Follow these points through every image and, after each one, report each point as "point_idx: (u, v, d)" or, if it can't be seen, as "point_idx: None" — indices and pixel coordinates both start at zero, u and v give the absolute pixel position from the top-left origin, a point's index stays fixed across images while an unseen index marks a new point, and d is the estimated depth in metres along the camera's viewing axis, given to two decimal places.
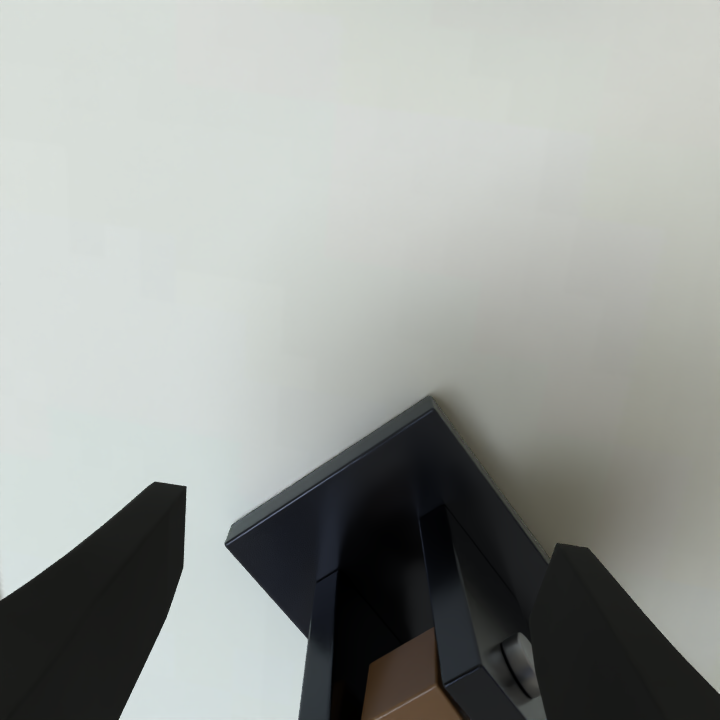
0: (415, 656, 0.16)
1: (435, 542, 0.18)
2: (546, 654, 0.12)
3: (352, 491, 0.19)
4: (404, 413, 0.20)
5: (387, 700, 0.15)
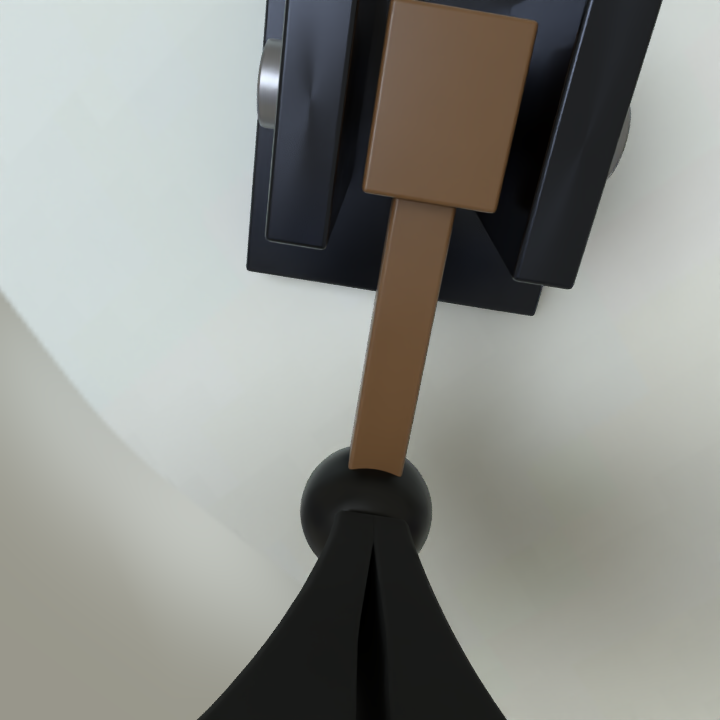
0: None
1: None
2: None
3: None
4: None
5: (442, 9, 0.09)
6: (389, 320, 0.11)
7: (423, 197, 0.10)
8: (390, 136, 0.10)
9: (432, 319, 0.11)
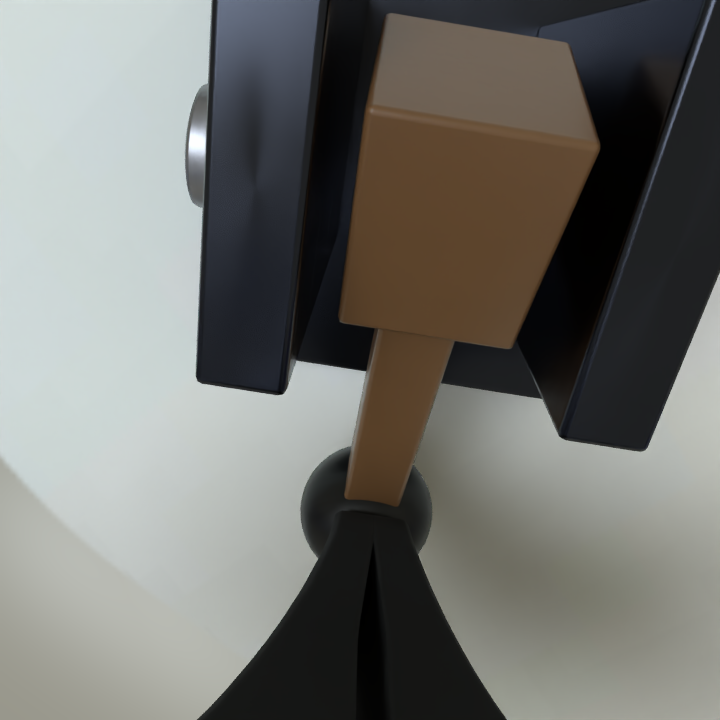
0: (524, 65, 0.07)
1: None
2: None
3: None
4: None
5: (451, 100, 0.06)
6: (382, 401, 0.10)
7: (417, 334, 0.08)
8: (371, 273, 0.07)
9: (433, 402, 0.10)
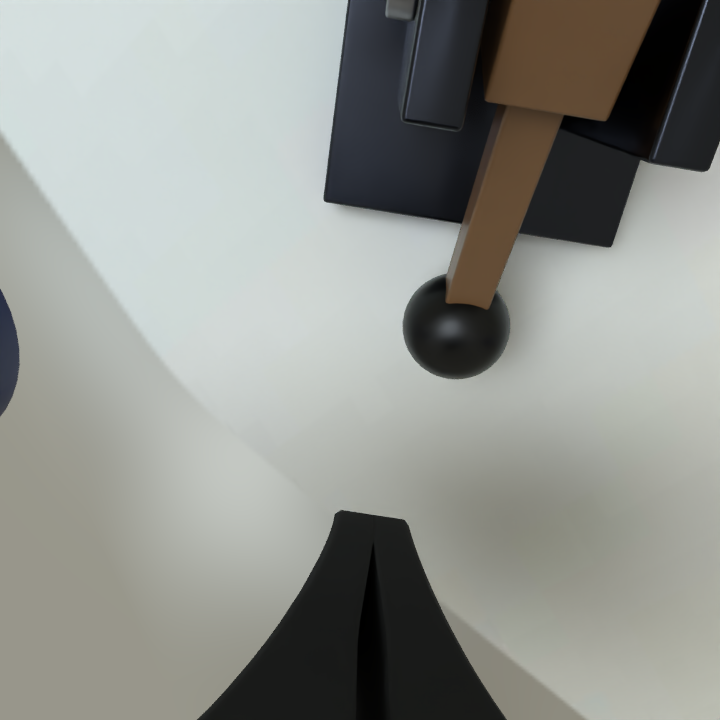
0: None
1: None
2: None
3: None
4: None
5: None
6: (493, 195, 0.13)
7: (541, 108, 0.11)
8: (517, 53, 0.10)
9: (532, 195, 0.13)
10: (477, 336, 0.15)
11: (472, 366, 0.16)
